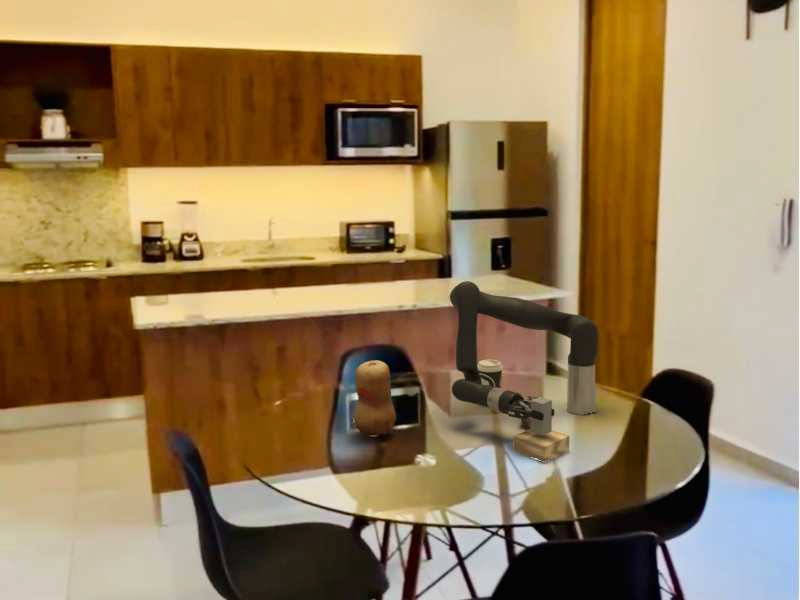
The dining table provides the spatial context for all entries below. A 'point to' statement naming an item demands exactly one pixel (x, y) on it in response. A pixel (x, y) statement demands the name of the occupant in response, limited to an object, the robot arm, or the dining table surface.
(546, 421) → the grey block
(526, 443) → the birch plinth
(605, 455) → the dining table surface
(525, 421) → the cupcake
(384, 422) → the butternut squash
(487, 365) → the coffee cup
